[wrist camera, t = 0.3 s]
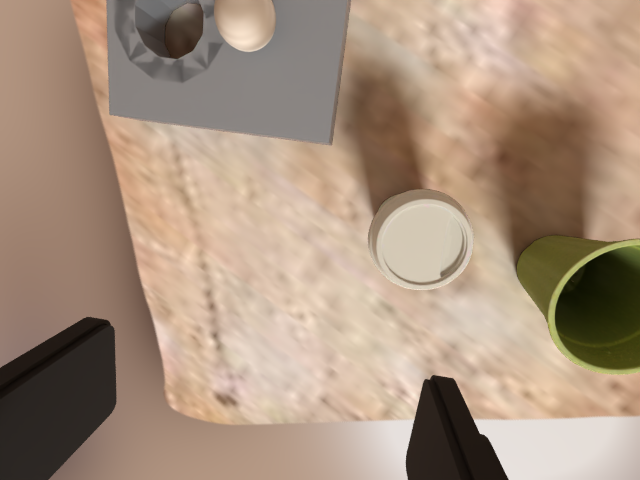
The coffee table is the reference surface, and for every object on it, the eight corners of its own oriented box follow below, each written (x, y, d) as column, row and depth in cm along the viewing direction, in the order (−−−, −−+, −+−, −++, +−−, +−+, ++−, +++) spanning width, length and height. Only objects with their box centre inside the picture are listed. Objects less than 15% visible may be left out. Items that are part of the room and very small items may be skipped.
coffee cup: (406, 269, 39) (429, 316, 27) (348, 225, 38) (347, 254, 27) (457, 212, 37) (505, 237, 25) (397, 165, 36) (418, 167, 25)
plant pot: (476, 244, 38) (527, 279, 27) (584, 195, 35) (687, 211, 24) (516, 330, 40) (578, 395, 29) (621, 289, 37) (732, 342, 26)
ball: (228, -6, 30) (204, -39, 25) (284, -1, 29) (270, -32, 24) (225, 55, 31) (202, 36, 26) (278, 62, 30) (264, 43, 26)
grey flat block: (139, -68, 33) (103, -106, 29) (357, -47, 32) (358, -84, 27) (140, 120, 38) (109, 114, 33) (331, 145, 37) (328, 143, 32)
